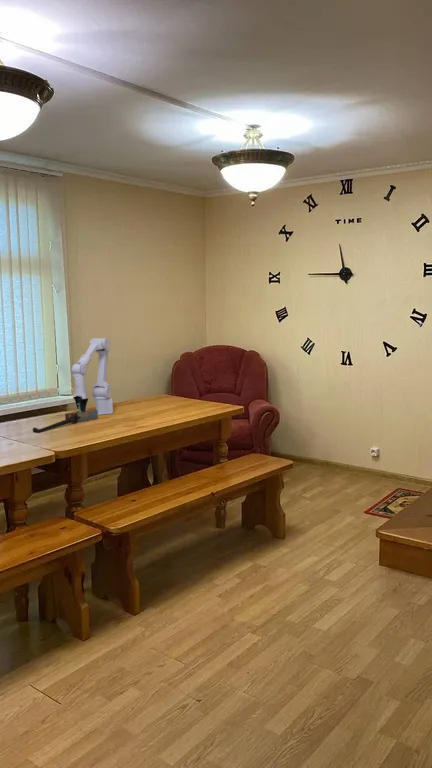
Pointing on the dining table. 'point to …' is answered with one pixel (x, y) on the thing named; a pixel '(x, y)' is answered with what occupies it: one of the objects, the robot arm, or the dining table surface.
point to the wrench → (59, 423)
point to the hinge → (84, 415)
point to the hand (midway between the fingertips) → (81, 410)
